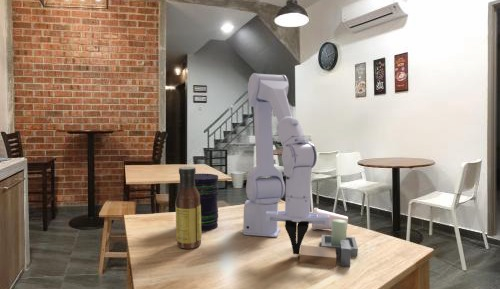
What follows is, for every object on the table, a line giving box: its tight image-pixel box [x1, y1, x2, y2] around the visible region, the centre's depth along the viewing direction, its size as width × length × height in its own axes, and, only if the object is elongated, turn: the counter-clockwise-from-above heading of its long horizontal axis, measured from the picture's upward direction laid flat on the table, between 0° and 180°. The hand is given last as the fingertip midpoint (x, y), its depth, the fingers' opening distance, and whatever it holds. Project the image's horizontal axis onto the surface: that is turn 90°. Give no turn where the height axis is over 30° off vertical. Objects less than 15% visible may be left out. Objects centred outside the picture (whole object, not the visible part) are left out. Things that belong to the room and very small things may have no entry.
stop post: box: [339, 239, 352, 268], centre depth 83 cm, size 2×6×4 cm, turn 169°
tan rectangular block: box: [299, 244, 337, 267], centre depth 84 cm, size 8×6×2 cm
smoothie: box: [311, 207, 349, 231], centre depth 106 cm, size 6×6×14 cm
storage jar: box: [195, 173, 219, 232], centre depth 107 cm, size 10×10×15 cm
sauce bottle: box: [174, 166, 202, 250], centre depth 91 cm, size 6×6×20 cm
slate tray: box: [320, 234, 359, 257], centre depth 91 cm, size 8×8×2 cm
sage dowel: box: [331, 219, 348, 246], centre depth 91 cm, size 4×4×6 cm
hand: (296, 252), depth 85 cm, fingers closed
